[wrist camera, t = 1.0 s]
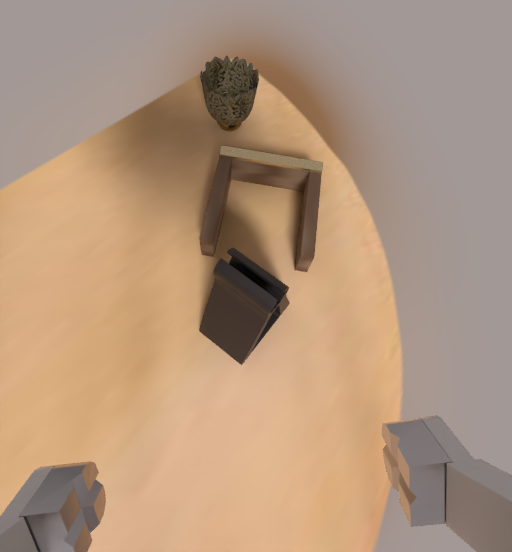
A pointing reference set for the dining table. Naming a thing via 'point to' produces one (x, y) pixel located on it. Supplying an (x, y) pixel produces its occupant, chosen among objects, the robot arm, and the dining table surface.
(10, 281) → the dining table surface
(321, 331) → the dining table surface
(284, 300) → the phone stand
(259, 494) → the dining table surface
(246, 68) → the cup
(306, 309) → the dining table surface
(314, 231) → the frame
